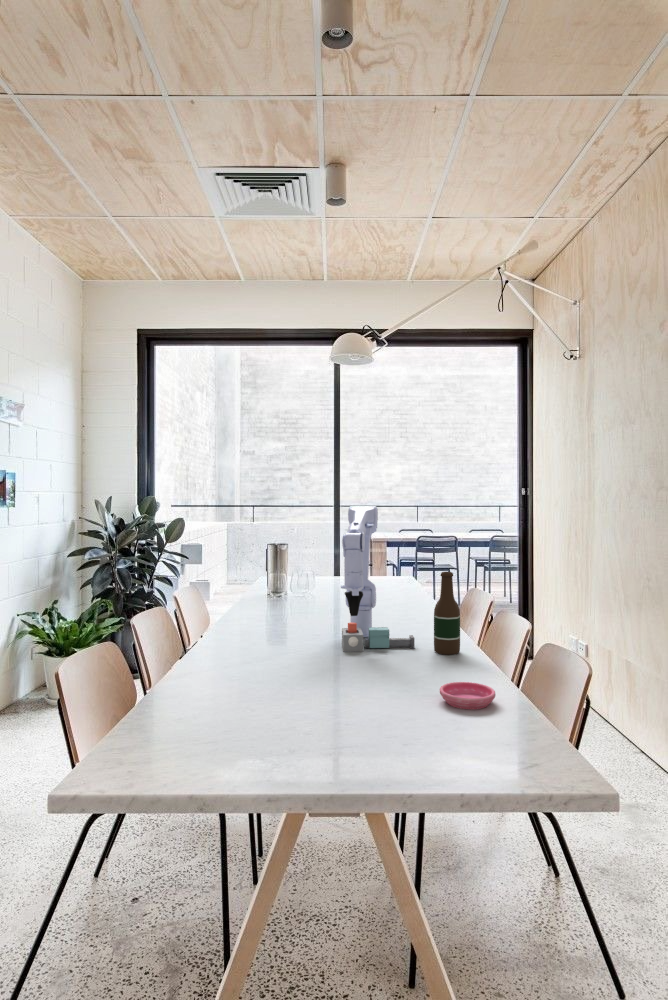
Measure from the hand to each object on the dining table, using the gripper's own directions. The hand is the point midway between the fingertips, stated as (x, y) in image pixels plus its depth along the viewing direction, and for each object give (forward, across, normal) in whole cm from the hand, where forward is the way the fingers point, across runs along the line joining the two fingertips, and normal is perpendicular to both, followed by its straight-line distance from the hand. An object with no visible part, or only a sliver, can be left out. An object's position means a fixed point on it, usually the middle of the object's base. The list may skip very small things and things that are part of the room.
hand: (353, 615), depth 197 cm
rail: (+10, 0, +11) cm, 15 cm away
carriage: (+10, 0, +8) cm, 13 cm away
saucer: (+10, +53, +22) cm, 59 cm away
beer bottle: (+10, +7, +27) cm, 30 cm away
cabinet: (+10, 0, 0) cm, 10 cm away
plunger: (+6, 0, -1) cm, 6 cm away
